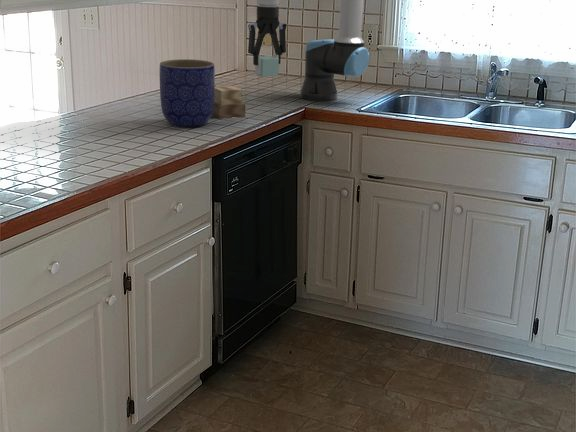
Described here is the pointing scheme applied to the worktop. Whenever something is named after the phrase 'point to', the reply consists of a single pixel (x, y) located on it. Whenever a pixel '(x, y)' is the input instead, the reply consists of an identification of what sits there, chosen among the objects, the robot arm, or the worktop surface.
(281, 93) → the worktop surface
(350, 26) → the robot arm
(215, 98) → the tower top
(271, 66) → the teal cube
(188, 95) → the planter
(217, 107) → the tower base
